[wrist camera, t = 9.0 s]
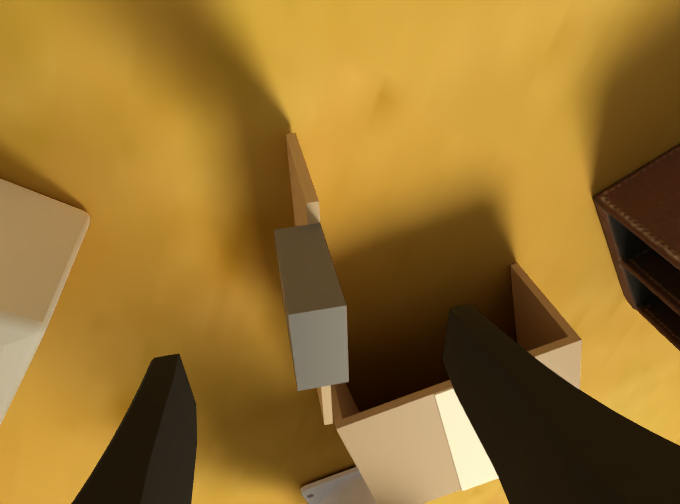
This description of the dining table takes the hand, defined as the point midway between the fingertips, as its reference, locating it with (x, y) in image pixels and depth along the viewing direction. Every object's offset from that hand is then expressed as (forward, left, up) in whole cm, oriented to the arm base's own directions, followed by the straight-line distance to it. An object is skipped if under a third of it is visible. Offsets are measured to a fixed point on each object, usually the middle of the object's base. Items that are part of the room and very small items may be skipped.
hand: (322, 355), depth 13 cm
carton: (-15, -4, -10) cm, 18 cm away
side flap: (-3, +1, -10) cm, 10 cm away
